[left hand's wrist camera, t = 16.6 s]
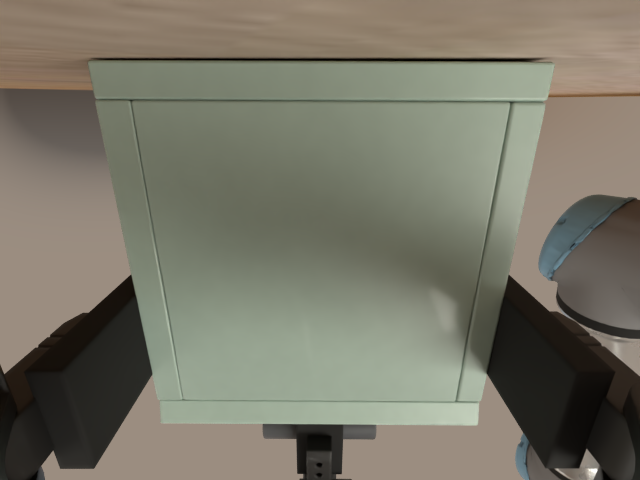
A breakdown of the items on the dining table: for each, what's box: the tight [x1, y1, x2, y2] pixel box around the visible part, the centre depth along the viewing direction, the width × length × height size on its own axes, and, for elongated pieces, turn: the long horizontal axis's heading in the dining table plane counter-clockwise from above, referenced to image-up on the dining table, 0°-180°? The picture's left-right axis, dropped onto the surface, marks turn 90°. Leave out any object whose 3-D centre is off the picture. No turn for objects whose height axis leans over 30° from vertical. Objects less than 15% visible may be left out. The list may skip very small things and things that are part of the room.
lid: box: [160, 399, 479, 439], centre depth 19 cm, size 14×10×8 cm
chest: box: [88, 60, 555, 402], centre depth 15 cm, size 13×10×10 cm
